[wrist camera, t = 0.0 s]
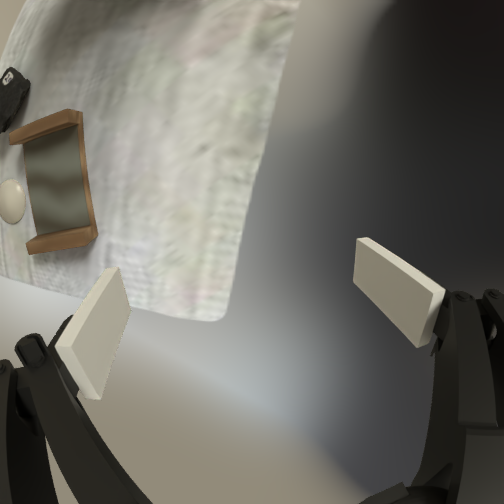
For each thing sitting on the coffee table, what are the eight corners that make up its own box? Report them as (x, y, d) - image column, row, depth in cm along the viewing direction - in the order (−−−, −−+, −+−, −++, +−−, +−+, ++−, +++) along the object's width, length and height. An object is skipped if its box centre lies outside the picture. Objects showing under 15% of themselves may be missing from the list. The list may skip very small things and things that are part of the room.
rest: (26, 132, 30) (9, 132, 26) (82, 112, 32) (67, 108, 27) (43, 244, 38) (28, 255, 33) (98, 234, 39) (86, 245, 34)
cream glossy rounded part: (-4, 184, 32) (-6, 185, 31) (23, 174, 33) (20, 174, 32) (3, 225, 35) (1, 226, 34) (30, 218, 36) (28, 219, 35)
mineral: (-8, 105, 26) (-26, 104, 21) (19, 66, 25) (2, 60, 20) (12, 136, 30) (-8, 137, 25) (41, 95, 29) (23, 91, 24)
